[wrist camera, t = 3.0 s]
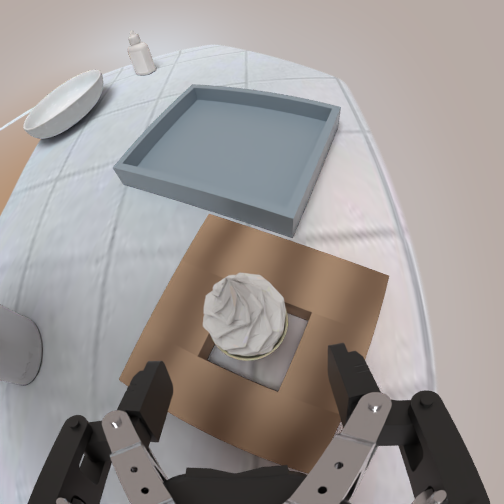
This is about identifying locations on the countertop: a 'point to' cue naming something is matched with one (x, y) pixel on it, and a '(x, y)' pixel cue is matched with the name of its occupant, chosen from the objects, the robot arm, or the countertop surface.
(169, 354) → the walnut board
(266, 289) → the ice cream cone
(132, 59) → the eye dropper bottle
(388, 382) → the countertop surface
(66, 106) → the serving bowl
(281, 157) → the slate blue tray
